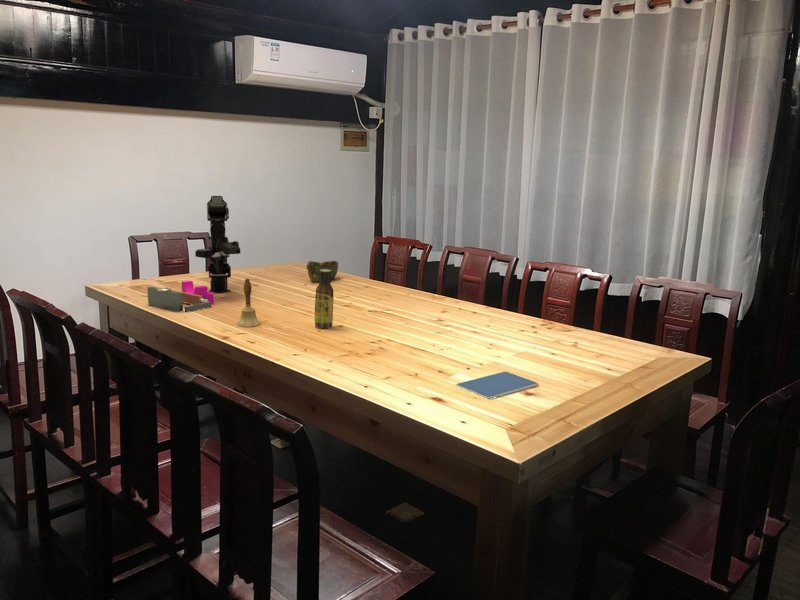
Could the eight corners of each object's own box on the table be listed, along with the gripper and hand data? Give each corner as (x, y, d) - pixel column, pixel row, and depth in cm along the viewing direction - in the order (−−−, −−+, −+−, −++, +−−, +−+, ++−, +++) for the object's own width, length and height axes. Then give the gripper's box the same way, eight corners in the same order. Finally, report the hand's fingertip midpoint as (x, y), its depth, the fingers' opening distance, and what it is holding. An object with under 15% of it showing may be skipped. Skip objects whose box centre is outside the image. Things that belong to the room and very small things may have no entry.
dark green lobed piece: (296, 279, 309) (296, 258, 307) (334, 277, 320) (334, 256, 318) (308, 284, 299) (308, 262, 297) (346, 281, 310) (347, 260, 307)
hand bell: (236, 327, 220) (235, 281, 217) (236, 321, 228) (235, 277, 224) (261, 326, 222) (261, 280, 219) (260, 321, 230) (259, 276, 227)
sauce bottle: (311, 327, 223) (311, 270, 218) (320, 323, 228) (320, 267, 224) (327, 330, 220) (328, 272, 216) (336, 326, 226) (337, 269, 222)
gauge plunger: (174, 298, 257) (174, 288, 256) (208, 306, 246) (207, 295, 246) (171, 299, 256) (170, 289, 255) (204, 306, 245) (204, 296, 244)
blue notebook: (487, 402, 160) (488, 397, 159) (453, 388, 169) (453, 383, 169) (539, 387, 171) (540, 383, 171) (504, 374, 181) (505, 370, 181)
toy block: (214, 304, 253) (213, 285, 252) (198, 306, 249) (198, 287, 248) (197, 298, 264) (196, 280, 263) (182, 300, 260) (181, 281, 258)
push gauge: (174, 298, 260) (173, 280, 259) (211, 307, 248) (210, 287, 247) (141, 305, 248) (140, 285, 247) (178, 313, 236) (177, 293, 235)
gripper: (212, 238, 248) (214, 278, 251) (249, 234, 263) (250, 272, 267) (193, 235, 254) (195, 274, 257) (230, 231, 269) (231, 269, 273)
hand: (219, 272), depth 263 cm, fingers closed
